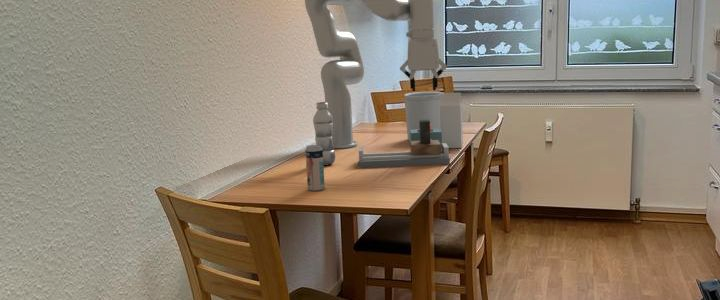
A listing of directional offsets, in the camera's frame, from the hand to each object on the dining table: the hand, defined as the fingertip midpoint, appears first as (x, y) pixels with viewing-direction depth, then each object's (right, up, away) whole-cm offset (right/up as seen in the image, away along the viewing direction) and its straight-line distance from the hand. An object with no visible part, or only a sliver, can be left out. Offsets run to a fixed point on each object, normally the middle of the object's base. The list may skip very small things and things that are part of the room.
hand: (424, 90), depth 234 cm
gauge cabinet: (+1, -21, +4) cm, 22 cm away
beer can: (-33, -31, -42) cm, 61 cm away
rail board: (-7, -24, -9) cm, 26 cm away
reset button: (+1, -16, +3) cm, 17 cm away
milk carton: (+11, -19, +16) cm, 27 cm away
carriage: (0, -20, -10) cm, 23 cm away
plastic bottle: (-32, -25, -6) cm, 41 cm away
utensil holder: (+4, -16, +35) cm, 39 cm away
